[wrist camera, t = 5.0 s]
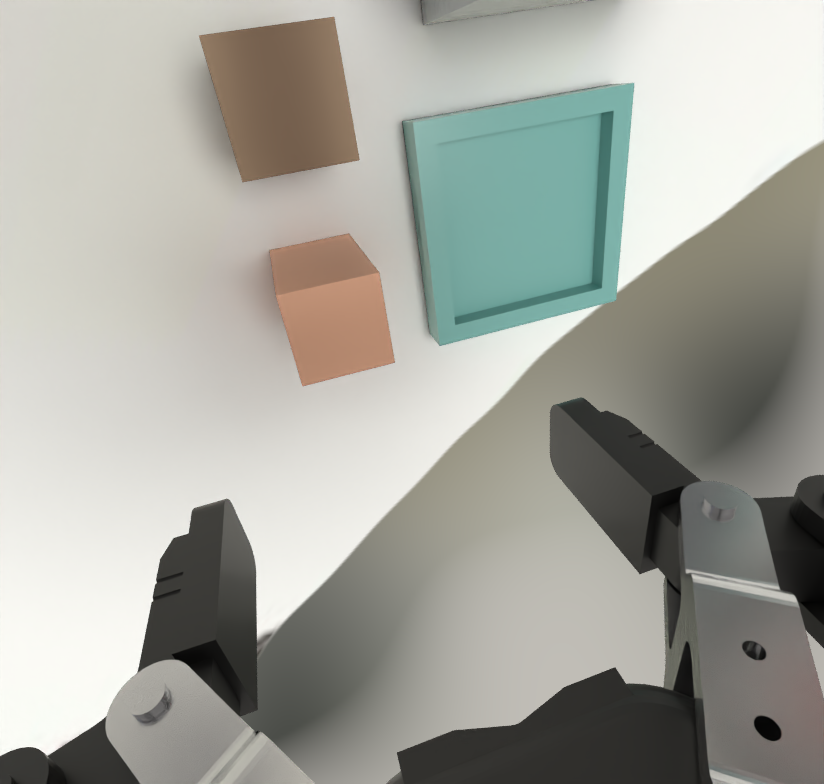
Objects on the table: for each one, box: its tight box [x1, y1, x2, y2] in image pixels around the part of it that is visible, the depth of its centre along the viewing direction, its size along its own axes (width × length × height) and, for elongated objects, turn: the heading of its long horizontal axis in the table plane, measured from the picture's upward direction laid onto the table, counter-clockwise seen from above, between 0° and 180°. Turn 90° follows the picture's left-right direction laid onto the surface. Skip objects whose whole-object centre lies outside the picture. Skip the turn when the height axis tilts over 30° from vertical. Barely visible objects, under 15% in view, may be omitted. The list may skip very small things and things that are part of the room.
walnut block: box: [199, 17, 359, 182], centre depth 19 cm, size 4×4×7 cm
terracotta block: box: [269, 234, 395, 386], centre depth 23 cm, size 4×4×7 cm
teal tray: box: [402, 83, 634, 346], centre depth 26 cm, size 11×11×2 cm
